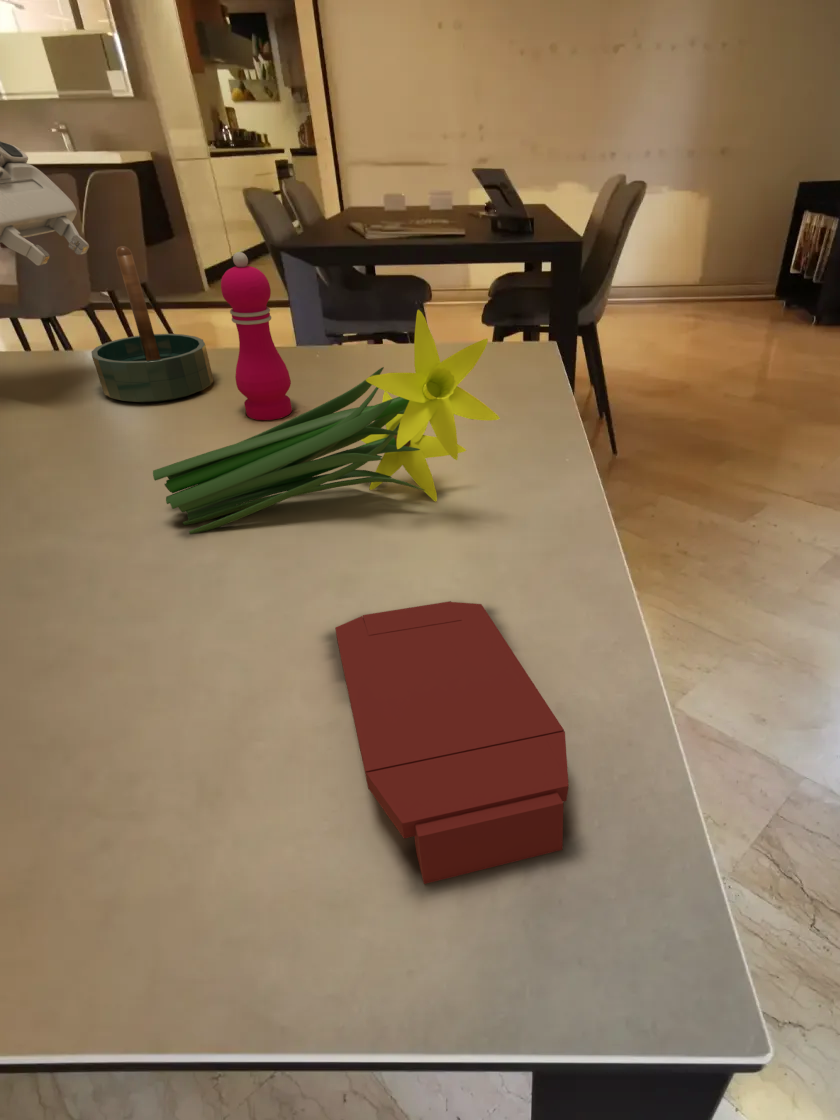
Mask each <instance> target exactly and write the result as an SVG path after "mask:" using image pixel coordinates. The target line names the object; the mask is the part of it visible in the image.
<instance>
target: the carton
mask: <svg viewBox="0 0 840 1120" xmlns="http://www.w3.org/2000/svg"><path fill="white" fill-rule="evenodd" d="M334 628H335V636H336V641H337V646H338V651H339V656H340V661H341V665H342V671H343V674H344V680H345V684H346V685H345V686H346V690H347V694H348V698H349V703H350V708H351V713H352V718H353V722H354V723H353V724H354V728H355V732H356V737H357V742H358V746H359V751H360V756H361V760H362V765H363V770H364V776H365V781H366V786H367V789H368V790H369V791H370V794H372V796H373V797H374V798H375V800H376V801H377V804H379V806H380V807H381V808H382V810H383V811H384V814H386V816H387V817H388V818H389V820H390V821H391V823H392V824H393V826H395V828H396V829H397V831H398V833H399V835H400V836H401V837H402V838H403V839H408V838H413V837H414V844H415V854H416V858H417V861H418V866H419V870H420V874H421V877H422V878H421V879H422V882H423V885H426V884H429V883H430V884H431V883H435V882H438V881H443V880H446V879H451V878H455V877H458V876H462V875H466V874H470V873H475V872H478V871H482V870H486V869H490V868H491V869H492V868H495V867H498V866H503V865H506V864H511V863H515V862H519V861H523V860H527V859H531V858H534V857H539V856H542V855H547V854H551V853H555V852H559V851H563V847H564V846H563V837H564V802H567V801H568V793H569V787H570V786H569V772H568V771H569V770H568V757H567V741H566V731H565V729H564V728H563V726H562V724H561V723H560V721H559V720H558V718H557V716H556V715H555V714H554V712H553V711H552V709H551V707H550V706H549V705H548V703H547V702H546V700H545V699H544V697H543V696H542V694H541V692H540V691H539V689H538V688H537V687H536V685H535V683H534V682H533V681H532V679H531V677H530V676H529V674H528V673H527V671H526V669H524V667H523V665H522V664H521V662H520V661H519V659H518V658H517V656H516V655H515V653H514V652H513V649H512V648H511V647H510V645H509V644H508V642H507V641H506V640H505V637H504V636H503V635H502V633H501V632H500V630H499V629H498V627H497V626H496V624H495V622H494V621H493V620H492V618H491V616H490V615H489V613H488V612H487V611H486V608H485V607H484V605H483V604H482V603H472V602H457V601H451V600H450V601H444V602H443V601H442V602H438V603H437V602H436V603H430V604H424V605H419V606H418V605H417V606H412V607H406V608H400V609H398V608H397V609H393V610H387V611H380V612H373V613H368V614H362V615H360V616H359V617H356V618H354V619H351V620H350V621H347V622H345V623H342V624H340V625H338V626H335V627H334Z"/></svg>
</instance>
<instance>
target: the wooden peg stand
mask: <svg viewBox="0 0 840 1120" xmlns="http://www.w3.org/2000/svg"><path fill="white" fill-rule="evenodd" d="M115 255H116V258H117V262H118V266H119V268H120V273H121V275H122V279H123V284H124V286H125V290H126V293H127V298H128V300H129V304H130V308H131V311H132V315H133V318H134V322H135V325H136V330H137V332H138V336H140V339H141V343H142V346H143V350H144V353H145V357H146V360H147V361H148V360H157V359H161V358H160V354H159V351H158V347H157V343H156V340H155V336H154V334H155V333H154V329H153V326H152V322H151V318H150V315H149V310H148V307H147V304H146V299H145V296H144V293H143V289H142V285H141V282H140V278H139V274H138V270H137V267H136V263H135V259H134V255H133V252H132V251H131V249H130V248H129V247H128V246H124V245H120V246H118V247H117V248H116V251H115Z"/></svg>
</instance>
